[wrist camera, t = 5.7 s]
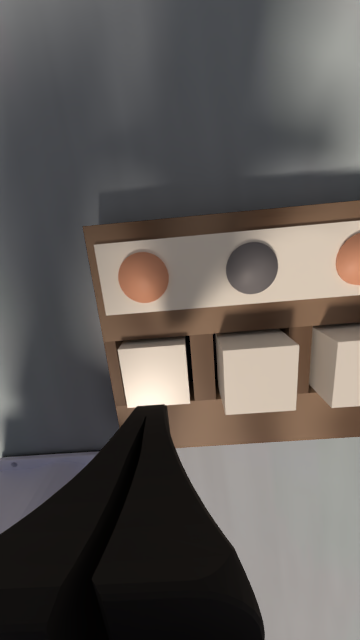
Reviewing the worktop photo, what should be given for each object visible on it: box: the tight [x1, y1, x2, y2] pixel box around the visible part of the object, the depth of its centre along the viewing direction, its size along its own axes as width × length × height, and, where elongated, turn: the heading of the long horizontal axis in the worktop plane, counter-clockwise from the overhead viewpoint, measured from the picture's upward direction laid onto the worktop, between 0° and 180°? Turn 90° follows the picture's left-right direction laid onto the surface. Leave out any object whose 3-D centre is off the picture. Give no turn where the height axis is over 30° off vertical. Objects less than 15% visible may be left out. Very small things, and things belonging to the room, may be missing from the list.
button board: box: [83, 200, 360, 448], centre depth 16 cm, size 18×15×2 cm
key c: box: [309, 322, 360, 408], centre depth 15 cm, size 4×4×3 cm
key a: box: [118, 336, 190, 408], centre depth 16 cm, size 4×4×3 cm
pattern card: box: [94, 220, 360, 316], centre depth 13 cm, size 17×4×1 cm, turn 95°
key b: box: [216, 328, 299, 415], centre depth 15 cm, size 4×4×3 cm
